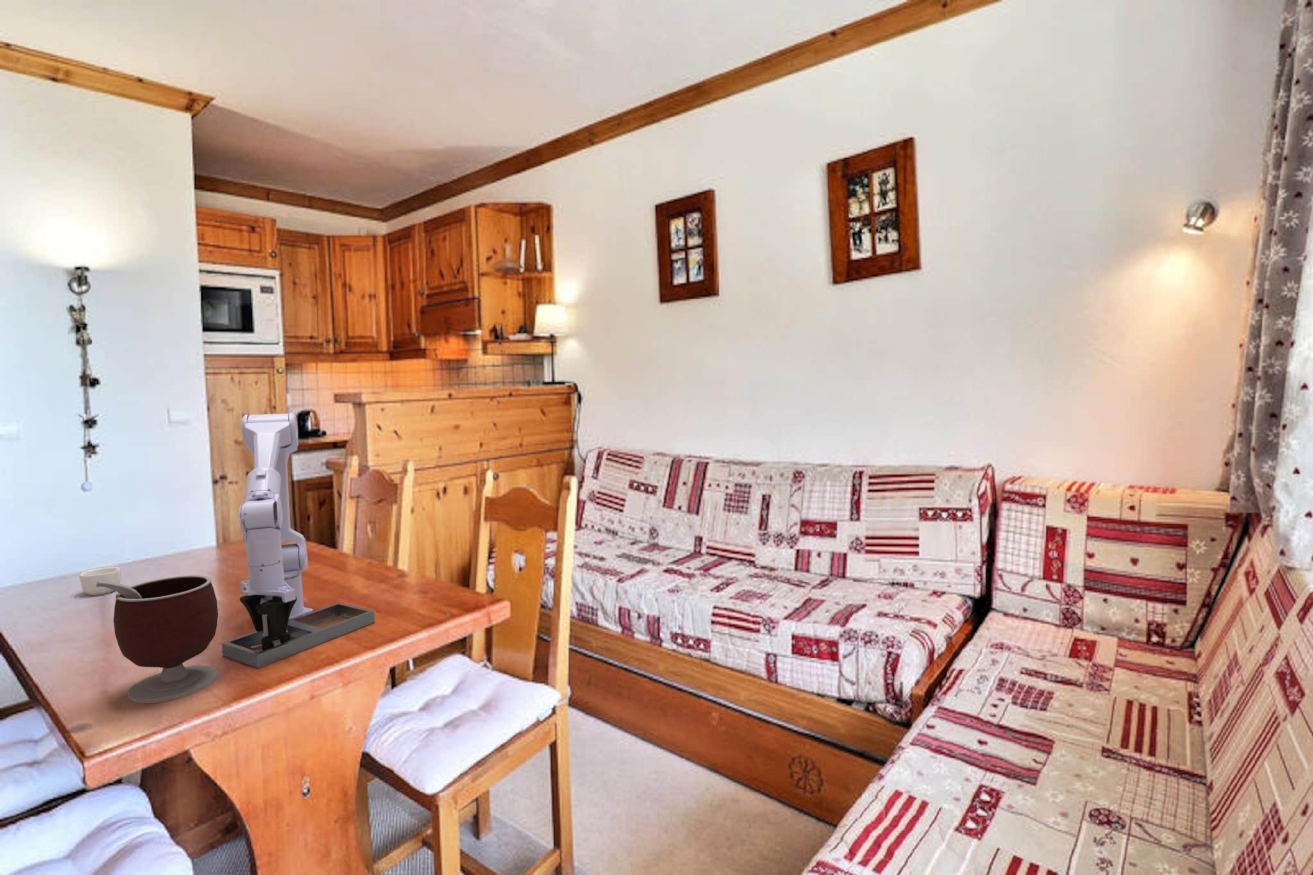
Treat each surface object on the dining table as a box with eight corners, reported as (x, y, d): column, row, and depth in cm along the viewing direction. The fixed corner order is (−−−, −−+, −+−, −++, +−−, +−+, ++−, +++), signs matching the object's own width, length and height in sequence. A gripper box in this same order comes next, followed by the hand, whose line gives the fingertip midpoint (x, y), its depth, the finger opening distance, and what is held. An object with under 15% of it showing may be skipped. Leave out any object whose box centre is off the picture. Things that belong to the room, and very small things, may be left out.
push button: (254, 659, 120) (249, 606, 119) (249, 650, 124) (244, 599, 123) (295, 648, 124) (290, 597, 123) (289, 640, 128) (284, 591, 127)
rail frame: (222, 655, 122) (221, 642, 121) (339, 613, 142) (339, 602, 142) (258, 668, 116) (257, 654, 116) (374, 622, 137) (373, 610, 137)
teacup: (124, 592, 161) (121, 570, 160) (82, 600, 156) (80, 578, 155) (119, 583, 168) (117, 563, 167) (79, 591, 163) (77, 570, 162)
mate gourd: (215, 659, 120) (205, 553, 118) (231, 684, 110) (220, 569, 108) (106, 688, 110) (93, 573, 108) (112, 719, 100) (98, 592, 98)
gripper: (221, 563, 122) (227, 633, 124) (265, 573, 115) (272, 647, 117) (259, 554, 129) (265, 620, 130) (304, 563, 121) (309, 633, 123)
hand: (271, 632), depth 124 cm, fingers closed on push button, 5 cm apart
